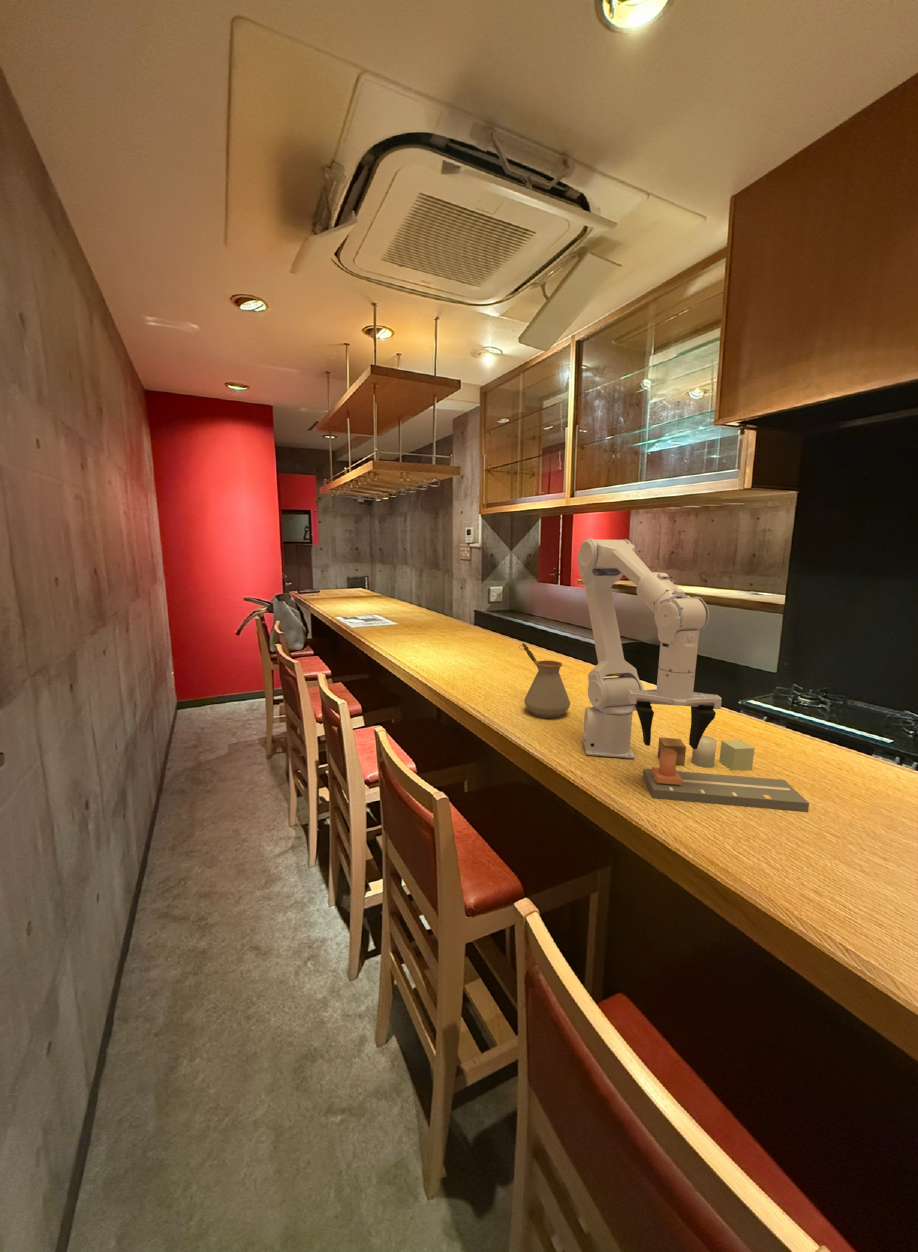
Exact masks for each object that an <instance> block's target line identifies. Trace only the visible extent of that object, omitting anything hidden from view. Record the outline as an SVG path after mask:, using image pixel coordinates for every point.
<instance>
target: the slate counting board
mask: <svg viewBox="0 0 918 1252" xmlns="http://www.w3.org/2000/svg"><path fill="white" fill-rule="evenodd" d="M676 771H677V772H678V774H679V775H680V777H681V778H682V785H676V784H664V783H657V782H656V780H655V778H654V776H653V774H652V768H644V767H643V770H642V778H643V780H644V782H645V784H646V786H647V788H648V791H649V792H650V795H651V797H652V798H653V799H661V800H671V801H672V800H673V801H685V802H697V803H704V804H707V803H708V804H718V805H727V806H728V805H729V806H738V807H751V808H752V807H753V808H761V809H772V810H774V809H775V810H785V811H787V810H788V811H796V812H807V813H808V812H809V807H810V806H809V805H810V802H809V801H807V800H806V799H805V797H804V796H803V795H801V794H800V793H799V792H798V791H797V790H796V789H795V787H793V786H792V785H791V784H789V782H787V781H786V780H785V779H779V778H778V779H777V778H766V777H764V778H763V777H755V776H752V777H751V776H741V775H728V774H718V773H716V774H715V773H706V772H705V773H703V772H694V771H693V772H692V771H680V770H676Z"/></svg>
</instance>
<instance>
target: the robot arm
mask: <svg viewBox="0 0 918 1252" xmlns="http://www.w3.org/2000/svg"><path fill="white" fill-rule="evenodd" d="M576 558H577V563H578V570H579V577H580V580H581V583H583V584H584V589H585V594H586V601H587V607H588V612H589V617H590V624H591V625H590V626H591V630H592V636H593V641H594V647H595V653H596V659H597V664H596V665H595V666H594V668H592V670H591V671H590V672H589V673H588V674H587V680H588V687H587V696H588V701H589V702H590V704H591V705H592V706H587V707H585V710H584V715H583V716H584V718H583V720H584V721H583V733H582V743H583V747H584V751H585V754H586V755H588V756H595V757H596V756H597V757H606V758H607V757H609V758H620V759H621V758H623V759H635V757H636V755H635V754H634V752H633V749H632V748H631V747H632V746H631V737H632V727H633V726H632V725H633V715H634V713H633V712H637V715H638V719H639V723H640V725H641V731H642V741H643V742H642V743H644V745H645V746H647V747H649V746H651V740H652V725H653V718H654V715H655V712H654V710H653V706H652V705H665V706H680V707H681V706H682V707H690V720H691V721H690V731H689V736H688V737H689V738H688V745H689V746H690V748H691V749H692V750H693V749H697V747H698V744H699V742H700V739H701V737H702V735H704V733H705V731H706V729H707V727H709V725H710V724H711V723H712V722H713V720H714V719H715V718H716V711H715V710H721V707H722V697H721V696H720V695H718V694H710V693H704V692H703V693H702V692H696V691H694V688H695V687H694V686H695V678H696V677H695V676H696V669H697V668H696V667H697V657H698V648H699V636H700V632H701V631H703V630H704V629H705V628H706V627H707V625H708V624H709V620H710V610H709V607H708V605H707V603H706V602H705V601H704V599H703V598H702V597H699V596H692V597H691V595H686V594H685V591H684V590H683V589H682V588H679V587H678V586H677V585H676V584H674V582H673V581H672V580H670V576H669V575H668V574H667V573H666V572H657V571H655V572H652V571H651V569H650V568H649V567H648V566H647V565H646V564H645V563H644V561H643V560H642V559H641V558H640V556H638V555H637V553H636V546H635V544H632V543H631V542H630V540H629V539H626V538H623V539H622V538H621V539H597V538H596V539H595V538H594V539H593V538H590V537H589V538H585V539H584V540H583V541H582V543H581V544H580V545H579V549H578V552H577V557H576ZM623 576H624V577H626V578H627V579H628V580H629V581H630V582H631V583H633V584H634V585H636V595H637V597H638V598H639V599H640V600H641V601H642V602H643V603H644V604H645V605H646V606H647V608H649V609H650V610H651V612H653V614H654V622H655V625H656V628H657V638H658V641H659V642H660V645H659V655H658V656H659V658H658V668H657V679H656V681H657V682H656V688H655V689H644V686H643V684H642V682H641V680H640V677H639V674H638V671H637V668H636V667H634V666H633V665H632V664H631V663H629V662H628V661H626V659H625V657H624V650H623V645H622V644H623V643H622V639H621V635H620V629H619V625H618V617H617V614H616V607H615V602H614V597H613V592H612V588H613V585H614V584H616V583H617V582H619V581H620V579H622V577H623Z"/></svg>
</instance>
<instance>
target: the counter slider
mask: <svg viewBox="0 0 918 1252" xmlns="http://www.w3.org/2000/svg"><path fill="white" fill-rule="evenodd" d="M676 757H677V752H676V751H674V750H672V749H661V753H660V759H659V766H658V767H656V766H655V767H654V766H652V767H651V769H652V774H653V776H654V778H655V780H656V782H657V783H664V784H676V785H682V778H681V777H680V775H679V774H678V772H677V771H678V770H677V769H676V767H677V765H676Z"/></svg>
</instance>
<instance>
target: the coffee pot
mask: <svg viewBox="0 0 918 1252" xmlns="http://www.w3.org/2000/svg"><path fill="white" fill-rule="evenodd" d="M521 646H522V648H520V647H521ZM518 648H519V649H521V650H523V651H526V654H527V656H528V657H529V658H530V660H531V661H532V662H533V663H534V665H535V666H536V667H537V673H536V675H535V677H534V679H533V681H532V683H531V685H530V687H529V689H528V692H527V693H526V695H525V697H524V699H523V700H524V705H525V707H526V708H527V709H528V711H530V712H531V713H532V714H533V715H534V716H537V717H539V718H540V717H541V718H548V719H550V718H551V719H554V718H560V717H561V716H563V714H564V713H566V712H567V711H568V710H569V709H570V707H571V701H570V699H569V696H568V693H567V691H566V687H565V685H564V682H563V679H562V677H561V675H560V669H561V667H562V666H563V663H562V662H560V661H555V660H537V659H536V657H535V655H534V654H533V653H532V651H531V650H530V649H529V647H528V645H527V644H526V643H524V642H522V643H521V644H520V645H519V646H518Z"/></svg>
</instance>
